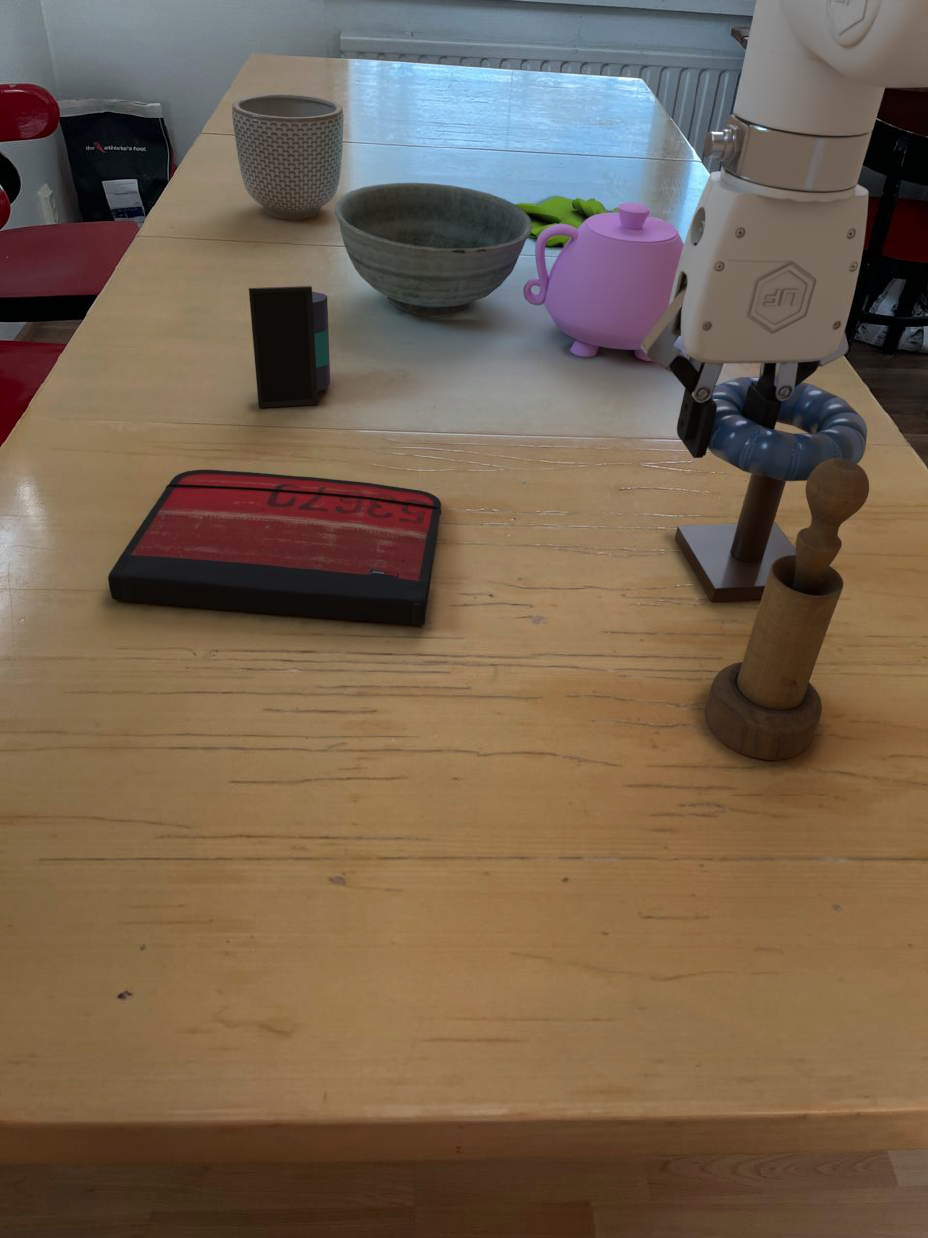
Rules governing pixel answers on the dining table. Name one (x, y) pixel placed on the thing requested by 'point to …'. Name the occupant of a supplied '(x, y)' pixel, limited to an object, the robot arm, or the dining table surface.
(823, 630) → the mortar and pestle
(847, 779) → the dining table surface
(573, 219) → the cloth
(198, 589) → the ink pad
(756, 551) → the stand
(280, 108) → the planter
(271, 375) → the speaker
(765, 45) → the robot arm
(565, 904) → the dining table surface
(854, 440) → the blue ring
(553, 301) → the teapot
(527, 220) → the bowl
